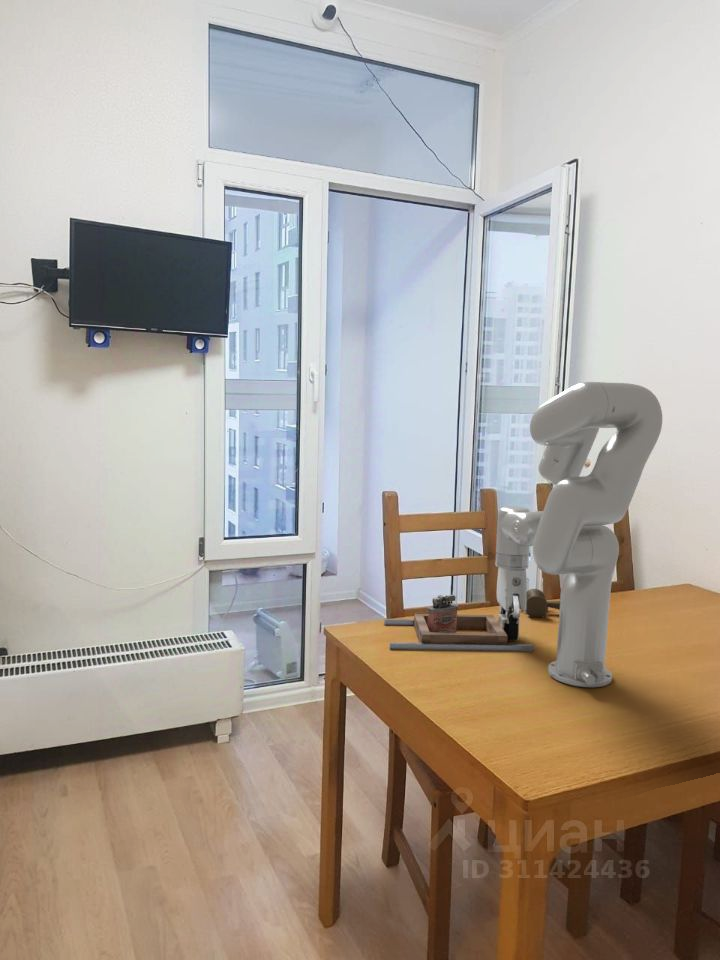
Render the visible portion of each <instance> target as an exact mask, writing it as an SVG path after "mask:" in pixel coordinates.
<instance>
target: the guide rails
mask: <svg viewBox="0 0 720 960" xmlns="http://www.w3.org/2000/svg"><path fill="white" fill-rule="evenodd" d="M383 620H385V621H384V622H383V625H384V626H414V618H413V619H412V618H383ZM497 622H498V620H497ZM389 650H409V651H410V650H418V651H420V650H422V651H423V650H424V651H425V650H426V651H428V650H429V651H480V652H481V651H482V652H483V651H485V652H486V651H489V652H490V651H491V652H493V651H496V652H497V651H498V652H533V651H534V645H533V644H525V643H524V644H523V643H522V644H520V643H519V644H517V643H511V644H510V643H507V644H465V643H420V642H400V641H398V642H395V641H394V642H389Z"/></svg>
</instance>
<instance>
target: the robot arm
mask: <svg viewBox="0 0 720 960" xmlns="http://www.w3.org/2000/svg"><path fill="white" fill-rule="evenodd" d="M662 428H663V411H662V407H661V403H660V401H659V399H658V397H657V396H656V395H655V394H654V393H653V391H652V390H650V389H648V388H646V387H645V386H641V385H639V384H633V383H630V382H629V383H628V382H627V383H625V382H602V381H601V382H600V381H585V382H584V381H583V382H579V383H576V384H573V385H572V386H570V387H569V388H567V389H565V390H564V391H561V392H560V393H558V394H557V395H555V396H553V397H552V398H550V399H548V400H546V401H545V402H544V403H542V404H541V405H540V406H538V408H537V409H536V410H535V411H534V412H533V415H532V417H531V419H530V423H529V432H530V436H531V439H532V440H533V442H535V443H536V444H538V445H539V446H544V447H545V446H546V447H545V450H544V451H543V454H542V458H541V459H540V461H539V465H538V472H539V474H540V476H541V477H542V478H543V479H544V480H545V481H546V482H548V483H549V484H552V485H554V487H552V489H551V490H550V492H549V494H548V496H547V500H546V501H545V502H546V503H545V505H544V509H543V510H539V511H531V510H529V509H528V508H527V507H523V506H518V505H517V506H515V505H514V506H513V505H511V506H510V505H509V506H502V507H501V508H499V510H498V511H497V512H498V513H497V523H496V525H497V526H496V528H497V530H496V545H495V561H494V562H495V567H497V568H498V570H497V579H496V601H497V603H498V604H499V612H498V614H506V623H504V631H505V633H506V634H507V636H508V638H507V641H516V640H517V639H518V640H519V636H518V624H519V625H520V616H521V613H520V611H522V612H526V601H527V591H528V588H527V587H528V586H527V584H528V582H527V570H528V569H529V559H530V547H532V557H533V559H534V563H535V565H536V566H537V568H538V569H539V570H541V572H543V573H546V574H547V575H556V576H557V575H565V577H564V579H563V582H562V585H561V590H560V597H559V598H560V599H559V601H560V610H559V613H558V615H559V617H558V627H557V628H558V629H557V631H558V632H557V647H556V660H554V661H552V662H550V663H548V666H547V672H548V674H549V676H550V677H551V678H553V679H554V680H556V681H559V682H560V683H563V684H566V685H570V686H573V687H581V688H601V687H606V686H608V685H609V684H611V682H612V681H613V673H612V672H611V670H609V669H608V668H607V667H606V654H607V639H608V630H609V629H608V628H609V615H610V614H609V613H610V602H611V589H612V582H613V578H614V577H613V576H614V573H615V569H616V566H617V562H618V558H619V553H620V552H619V551H620V544H619V540H618V537H617V536H616V533H615V532H614V531H613V530H612V529H611V528H609V526H608V527H607V526H606V525H612V524H616V523H618V522H621V521H622V520H623V518H624V517H625V516H626V514H627V511H628V509H629V507H630V505H631V502H632V501H633V500H632V499H633V497H634V494H635V493H636V492H635V491H636V489H637V487H638V484H639V482H640V479H641V477H642V473H643V470H644V468H645V466H646V464H647V461H648V459H649V458H650V455H651V454H652V452H653V450H654V449H655V447H656V444H657V442H658V440H659V437H660V435H661V431H662ZM600 429H616V432H615V433H614V434H612V436H611V437H610V438H609V439H608V440H607V441H606V443H605V444H603V446H602V447H601V449H600V451H599V453H598V455H597V458H596V460H595V463H594V467H593V468H592V471H591V472H590V473H589V474H588V475H585V476H580V475H581V473H582V470H583V469H584V466H585V463H586V461H587V459H588V456H589V454H590V452H591V450H592V447H593V444H594V442H595V440H596V438H597V435H598V433H599V431H600ZM509 614H511V615H510V617H509Z"/></svg>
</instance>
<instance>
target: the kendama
mask: <svg viewBox="0 0 720 960" xmlns="http://www.w3.org/2000/svg"><path fill="white" fill-rule="evenodd" d="M545 597H546V596H545V594H544V591H542V590H540V589H538V588H531V589H527V601H526V611H525V614H526V615H527V616H528V617H530V618H533V617H534V619H541V618H544V617H545V616H546V615H547V613H548V610H549V608H552V609H554V610H555V609H556V610H559V611H560V600H556V601H555V600H554V601H552V600H547V599H546V598H545Z"/></svg>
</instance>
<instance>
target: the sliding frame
mask: <svg viewBox="0 0 720 960" xmlns="http://www.w3.org/2000/svg"><path fill="white" fill-rule="evenodd" d="M497 615H498V616H497V619H496V618H495V616H494V615H493V614H457V625H456V629H469V630H470V629H471V630H472V629H473V630H474V629H475V630H477V629H478V630H480V629H481V630H482V629H483V630H486V632H481V633H480V632H457V633H441V632H430V631H429V629H428V613H414V614H413V619H414V625H413V628H414V630H415V633H416V637H417V639H418V643H465V644H508V640H507V638H508V636H507V634H506V633H505V631H504V623H506V614H499V613H498V614H497ZM510 615H511V614H509V617H510ZM497 621H498V622H497ZM519 633H520V623H519V624H518V637H519V635H520V634H519ZM515 641H516V642H517V641H519V638H518V639H517V640H515Z"/></svg>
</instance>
